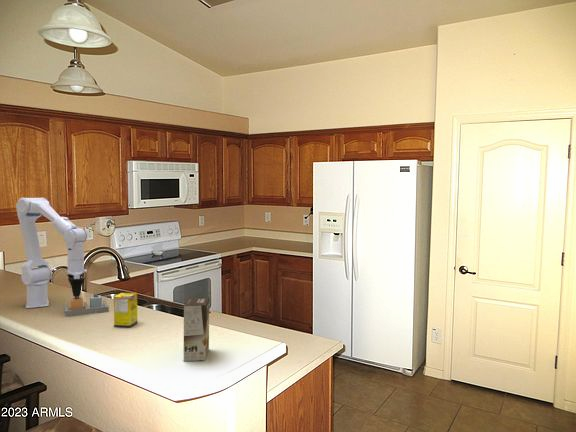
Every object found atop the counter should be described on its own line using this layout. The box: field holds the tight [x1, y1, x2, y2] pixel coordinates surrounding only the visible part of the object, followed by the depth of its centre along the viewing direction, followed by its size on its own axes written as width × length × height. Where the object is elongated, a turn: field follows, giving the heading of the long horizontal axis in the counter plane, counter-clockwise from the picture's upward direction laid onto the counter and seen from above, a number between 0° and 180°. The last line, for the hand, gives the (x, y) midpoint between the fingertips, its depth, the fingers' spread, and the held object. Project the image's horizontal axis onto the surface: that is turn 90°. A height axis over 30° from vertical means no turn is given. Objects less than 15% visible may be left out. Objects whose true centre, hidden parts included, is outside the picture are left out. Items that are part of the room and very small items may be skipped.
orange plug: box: [70, 296, 84, 310], centre depth 165 cm, size 4×4×6 cm
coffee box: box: [183, 296, 210, 362], centre depth 123 cm, size 9×6×16 cm
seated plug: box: [89, 293, 103, 308], centre depth 168 cm, size 4×4×6 cm
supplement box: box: [113, 292, 138, 329], centre depth 149 cm, size 6×6×11 cm
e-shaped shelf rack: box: [64, 299, 110, 317], centre depth 166 cm, size 11×15×2 cm
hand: (76, 293), depth 164 cm, fingers open, 7 cm apart
